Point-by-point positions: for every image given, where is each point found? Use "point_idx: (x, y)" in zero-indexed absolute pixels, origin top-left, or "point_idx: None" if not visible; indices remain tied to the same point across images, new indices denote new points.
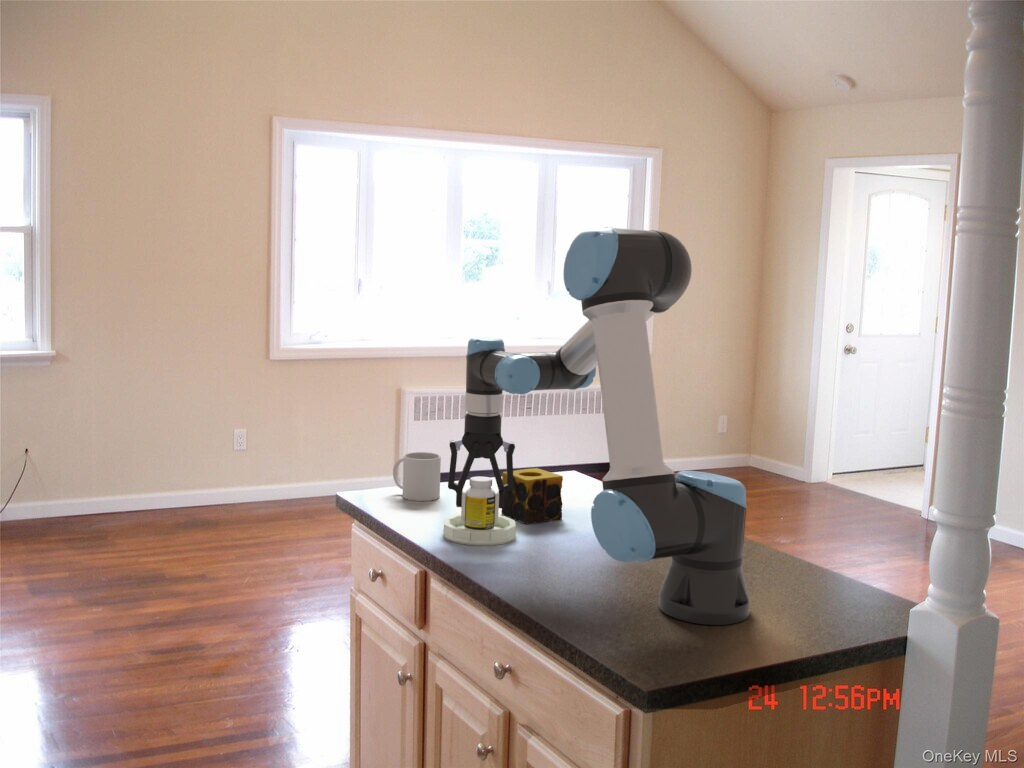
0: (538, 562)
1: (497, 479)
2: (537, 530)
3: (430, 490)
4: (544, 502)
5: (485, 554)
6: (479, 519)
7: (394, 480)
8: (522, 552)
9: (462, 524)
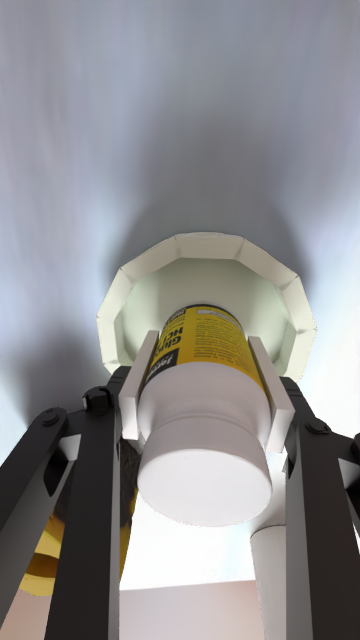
0: (12, 21)
1: (101, 468)
2: (65, 367)
3: (277, 551)
4: None
5: (198, 128)
6: (207, 316)
7: None
8: (81, 164)
9: None
